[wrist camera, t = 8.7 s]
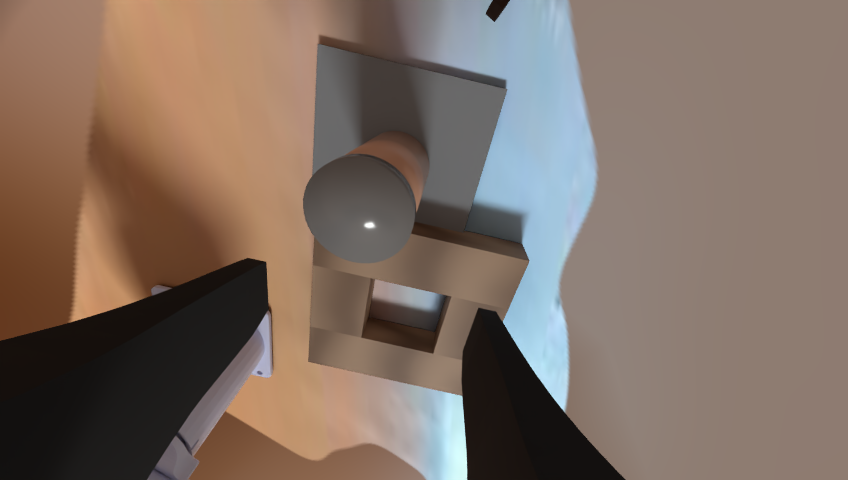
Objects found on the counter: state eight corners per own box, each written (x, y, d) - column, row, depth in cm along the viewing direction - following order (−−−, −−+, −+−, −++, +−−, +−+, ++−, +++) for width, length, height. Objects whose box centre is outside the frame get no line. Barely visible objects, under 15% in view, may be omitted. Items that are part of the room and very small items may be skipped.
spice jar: (360, 193, 19) (305, 254, 12) (363, 124, 17) (300, 149, 10) (425, 204, 19) (407, 271, 12) (435, 135, 17) (420, 168, 10)
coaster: (313, 216, 21) (310, 218, 20) (320, 44, 16) (317, 43, 16) (457, 249, 21) (457, 252, 20) (506, 89, 16) (507, 89, 16)
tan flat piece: (319, 340, 26) (308, 361, 24) (329, 199, 20) (315, 211, 18) (468, 373, 26) (469, 397, 24) (522, 243, 20) (529, 260, 18)
